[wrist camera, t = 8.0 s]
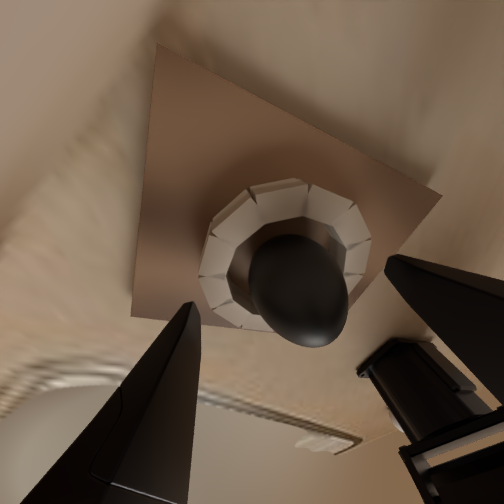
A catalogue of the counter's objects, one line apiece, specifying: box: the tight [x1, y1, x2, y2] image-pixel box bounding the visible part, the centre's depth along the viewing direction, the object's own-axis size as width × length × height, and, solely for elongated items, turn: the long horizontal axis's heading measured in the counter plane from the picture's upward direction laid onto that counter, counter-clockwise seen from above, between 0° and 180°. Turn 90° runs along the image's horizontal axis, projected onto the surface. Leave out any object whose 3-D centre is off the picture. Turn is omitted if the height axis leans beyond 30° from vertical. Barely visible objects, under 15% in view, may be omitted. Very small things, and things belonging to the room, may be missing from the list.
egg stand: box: [131, 43, 442, 333], centre depth 10 cm, size 12×14×2 cm
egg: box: [248, 234, 349, 348], centre depth 8 cm, size 4×4×5 cm
